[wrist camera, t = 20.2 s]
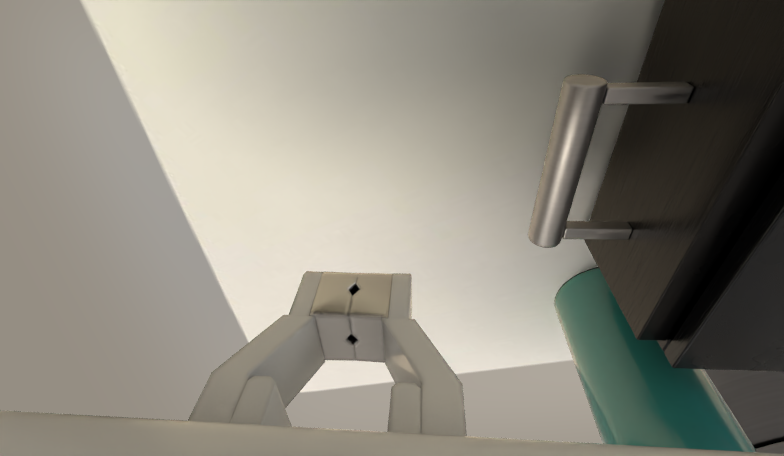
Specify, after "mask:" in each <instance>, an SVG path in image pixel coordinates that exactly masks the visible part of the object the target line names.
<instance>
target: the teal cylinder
mask: <svg viewBox="0 0 784 456" xmlns="http://www.w3.org/2000/svg"><path fill="white" fill-rule="evenodd" d="M554 306H555V310H556V313H557V316H558V319H559V321H560V324H561V327H562V330H563V333H564V335H565V338H566V341H567V344H568V347H569V350H570V352H571V355H572V358H573V361H574V364H575V366H576V369H577V372H578V374H579V378H580V380H581V383H582V386H583V389H584V392H585V394H586V397H587V400H588V403H589V406H590V408H591V411H592V414H593V417H594V420H595V423H596V426H597V428H598V431H599V434H600V437H601V440H602V442H603V444H615V445H633V446H651V447H668V448H686V449H704V450H722V451H740V452H757V451H756V449H755V448H754V446H753V445H752V443H751V442H750V440H749V438H748V437H747V435H746V434H745V432H744V431H743V429H742V428H741V426H740V424H739V423H738V421H737V420H736V418H735V417H734V415H733V414H732V412H731V411H730V409H729V407H728V406H727V404H726V403H725V401H724V400H723V398H722V397H721V395H720V393H719V392H718V390H717V389H716V387H715V386H714V384H713V383H712V381H711V380H710V378H709V376H708V375H707V373H706V372H705V370H704V369H681V368H673V367H672V366H671V365H670V363H669V361H668V359H667V358H666V356H665V354H664V351H663V350H662V349H661V347H660V345H659V344H658V342H657V341H654V340H637V339H636V337H635V335H634V333H633V331H632V329H631V327H630V326H629V324H628V322H627V320H626V318H625V316H624V314H623V312H622V310H621V309H620V307H619V305H618V303H617V301H616V299H615V297H614V295H613V293H612V292H611V290H610V288H609V286H608V284H607V282H606V280H605V278H604V276H603V275H602V273H601V271H600V269H599V268H596V269H592V270H588V271H586V272H583V273H581V274H579V275H577V276H575V277H573V278H572V279H570V280H569V281H568V282H566V283H565V284H564V285H563V286H562V287H561V289H560V290H559V291H558V293H557V295H556V298H555V303H554Z"/></svg>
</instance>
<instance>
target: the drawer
mask: <svg viewBox="0 0 784 456" xmlns="http://www.w3.org/2000/svg"><path fill="white" fill-rule="evenodd" d="M602 103H603V104H604V105H612V104H629V107H628V110H627V113H626V116H625V119H624V122H623V124H622V127H621V130H620V133H619V136H618V139H617V142H616V145H615V148H614V151H613V154H612V157H611V159H610V162H609V165H608V168H607V171H606V174H605V177H604V180H603V183H602V186H601V189H600V191H599V194H598V197H597V200H596V203H595V206H594V209H593V212H592V215H591V218H590V221H567V218H568V215H569V211H570V208H571V205H572V201H573V198H574V195H575V191H576V188H577V185H578V181H579V178H580V175H581V171H582V168H583V165H584V161H585V158H586V155H587V151H588V148H589V145H590V141H591V138H592V135H593V131H594V128H595V124H596V121H597V118H598V114H599V111H600V108H601V104H602ZM783 169H784V0H665V2H664V5H663V8H662V11H661V14H660V17H659V20H658V23H657V25H656V28H655V31H654V34H653V37H652V40H651V43H650V46H649V49H648V52H647V55H646V57H645V60H644V63H643V66H642V69H641V72H640V75H639V78H638V81H637V82H636V83H607V81H606V80H605V79H603V78H601V77H598V76H594V75H587V74H576V75H570V76H567V77H565V79H564V80H563V84H562V88H561V93H560V97H559V101H558V106H557V110H556V115H555V119H554V123H553V128H552V132H551V136H550V141H549V145H548V149H547V154H546V158H545V162H544V167H543V171H542V175H541V180H540V184H539V189H538V193H537V197H536V202H535V206H534V210H533V215H532V219H531V223H530V228H529V232H528V237H529V239H530V241H531V242H532V243H534V244H535V245H537V246H540V247H545V248H551V247H555V246H557V245H558V244H559V243H560V241H561V238H563V239H584V240H585V242H586V244H587V246H588V248H589V250H590V252H591V254H592V256H593V257H594V259H595V261H596V263H597V265H598V267H599V269H600V271H601V273H602V275H603V276H604V278H605V280H606V282H607V284H608V286H609V288H610V290H611V292H612V293H613V295H614V297H615V299H616V301H617V303H618V305H619V307H620V309H621V310H622V312H623V314H624V316H625V318H626V320H627V322H628V324H629V326H630V327H631V329H632V331H633V333H634V335H635V337H636V339H637V340H654V341H666V340H667V339H668V337H669V336H670V334H671V332H672V331H673V329H674V328H675V326H676V325H677V323H678V322H679V320H680V318H681V317H682V315H683V314H684V312H685V311H686V309H687V308H688V306H690V307H691V309H692V308H693V307H694V305H695V304H696V302H697V301H698V299H699V298H700V296H701V294H702V293H703V291H704V290H705V288H706V287H707V285H708V284H709V282H710V281H711V279H712V278H713V276H714V275H715V273H716V272H717V270H718V269H719V267H720V265H721V264H722V262H723V261H724V259H725V258H726V256H727V255H728V253H729V252H730V250H731V249H732V247H733V246H734V244H735V243H736V241H737V240H738V238H739V237H740V235H741V233H742V232H743V230H744V229H745V227H746V226H747V224H748V223H749V221H750V220H751V218H752V217H753V215H754V214H755V212H756V211H757V209H758V208H759V206H760V205H761V203H762V201H763V200H764V198H765V197H766V195H767V194H768V192H769V191H770V189H771V188H772V186H773V185H774V183H775V182H776V180H777V179H778V177H779V176H780V174H781V173H782V171H783Z"/></svg>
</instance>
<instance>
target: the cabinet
mask: <svg viewBox="0 0 784 456" xmlns="http://www.w3.org/2000/svg"><path fill="white" fill-rule="evenodd" d="M657 342H658V344H659V345H660V347H661V349H662V350H663V351H664V354H665V356H666V358H667V359H668V361H669V363H670V365H671V366H672V367H673V368H681V369H713V370H744V371H776V372H784V169H783V171H782V173H781V174H780V176H779V177H778V179H777V180H776V182H775V183H774V185H773V186H772V188H771V189H770V191H769V192H768V194H767V195H766V197H765V198H764V200H763V201H762V203H761V205H760V206H759V208H758V209H757V211H756V212H755V214H754V215H753V217H752V218H751V220H750V221H749V223H748V224H747V226H746V227H745V229H744V230H743V232H742V233H741V235H740V237H739V238H738V240H737V241H736V243H735V244H734V246H733V247H732V249H731V250H730V252H729V253H728V255H727V256H726V258H725V259H724V261H723V262H722V264H721V265H720V267H719V269H718V270H717V272H716V273H715V275H714V276H713V278H712V279H711V281H710V282H709V284H708V285H707V287H706V288H705V290H704V291H703V293H702V294H701V296H700V298H699V299H698V301H697V302H696V304H695V305H694V307H693V308H692V309H691V307H690V306H688V308H687V309H686V311H685V312H684V314H683V315H682V317H681V318H680V320H679V322H678V323H677V325H676V326H675V328H674V329H673V331H672V332H671V334H670V336H669V337H668V339H667V340H666V341H657Z"/></svg>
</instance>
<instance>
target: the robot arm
mask: <svg viewBox="0 0 784 456" xmlns="http://www.w3.org/2000/svg"><path fill="white" fill-rule="evenodd" d="M325 360H357V361H371V362H385V364H386V366H387V368H388V370H389V372H390V374H391V376H392V378H393V380H394V382H395V383H396V384H395V385H394V386H393V387H392V389H391V399H390V410H389V421H388V431H387V432H380V431H362V430H344V429H326V428H308V427H292V426H291V423H290V421H289V418H288V415H287V413H286V410H285V408H286V407H287V406H288V404H289V403H290V402H291V401H292V400H293V399H294V397H295V396H296V395H297V394H298V393H299V392H300V390H301V389H302V388H303V387H304V386H305V385H306V383H307V382H308V381H309V380H310V379H311V378H312V376H313V375H314V374H315V373H316V372H317V371H318V369H319V368H320V367H321V366H322V365H323V363H324V362H325ZM0 456H784V454H777V453H759V452H740V451H722V450H704V449H686V448H668V447H651V446H633V445H615V444H597V443H579V442H559V441H543V440H525V439H507V438H488V437H471V436H467V435H466V422H465V410H464V397H463V385H462V383H461V382H460V380H459V379H458V378H457V376H456V375H455V373H454V372H453V371H452V369H451V368H450V367H449V365H448V364H447V363H446V361H445V360H444V358H443V357H442V356H441V354H440V353H439V352H438V350H437V349H436V348H435V346H434V345H433V343H432V342H431V341H430V339H429V338H428V337H427V335H426V334H425V333H424V331H423V330H422V328H421V327H420V326H419V324H418V323H417V322H416V320H415V319H412V278H411V274H384V273H342V272H313V271H307V272H306V273H305V274H304V275H303V278H302V280H301V283H300V286H299V288H298V291H297V294H296V297H295V299H294V302H293V305H292V307H291V310H290V313H289V315H283V316H282V317H280V318H279V319H278V320H277V321H275V322H274V323H273V324H272V325H270V326H269V327H268V328H267V329H265V330H264V331H263V332H262V333H260V334H259V335H258V336H257V337H255V338H254V339H253V340H252V341H250V342H249V343H248V344H247V345H245V346H244V347H243V348H242V349H240V350H239V351H238V352H237V353H235V354H234V355H233V356H232V357H230V358H229V359H228V360H227V361H226V362H224V363H223V364H222V365H220V366H219V367H218V368H217V369H215V370H214V371H213V372H212V373H211V375H210V377H209V379H208V381H207V384H206V385H205V387H204V389H203V391H202V393H201V395H200V397H199V399H198V401H197V403H196V405H195V407H194V409H193V411H192V413H191V415H190V417H189V419H188V421H181V420H164V419H145V418H128V417H127V418H126V417H110V416H92V415H73V414H56V413H39V412H21V411H1V410H0Z"/></svg>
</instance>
